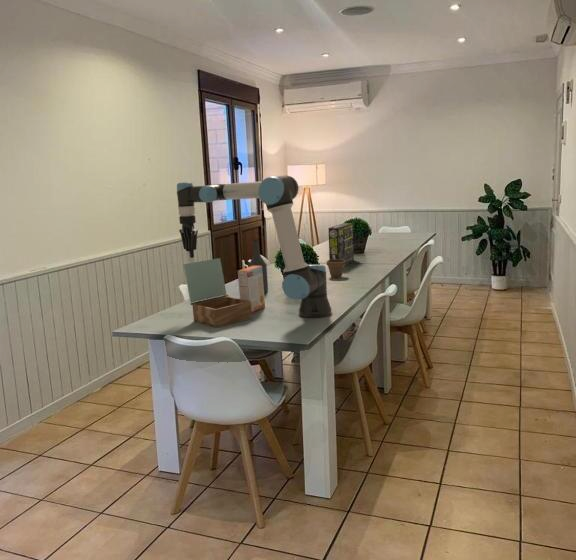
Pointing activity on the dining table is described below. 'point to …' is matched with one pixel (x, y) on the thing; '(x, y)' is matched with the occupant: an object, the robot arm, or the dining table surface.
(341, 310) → the dining table surface
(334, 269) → the flower pot
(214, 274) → the lid
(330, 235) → the box
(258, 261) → the bottle
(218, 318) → the walnut chest
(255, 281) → the cracker box
